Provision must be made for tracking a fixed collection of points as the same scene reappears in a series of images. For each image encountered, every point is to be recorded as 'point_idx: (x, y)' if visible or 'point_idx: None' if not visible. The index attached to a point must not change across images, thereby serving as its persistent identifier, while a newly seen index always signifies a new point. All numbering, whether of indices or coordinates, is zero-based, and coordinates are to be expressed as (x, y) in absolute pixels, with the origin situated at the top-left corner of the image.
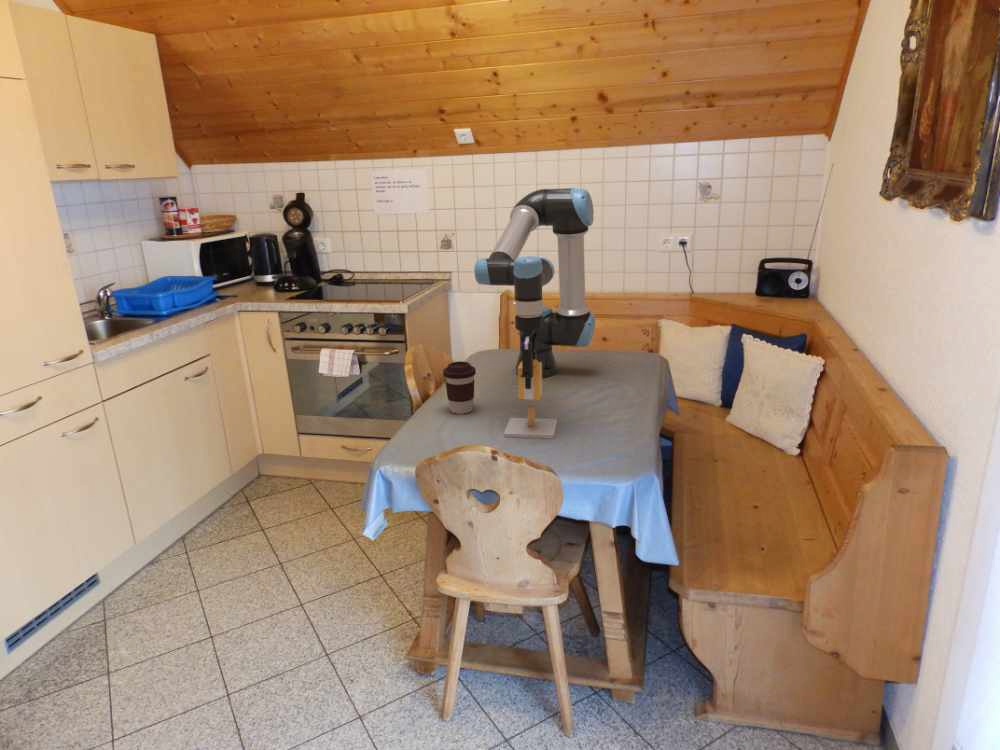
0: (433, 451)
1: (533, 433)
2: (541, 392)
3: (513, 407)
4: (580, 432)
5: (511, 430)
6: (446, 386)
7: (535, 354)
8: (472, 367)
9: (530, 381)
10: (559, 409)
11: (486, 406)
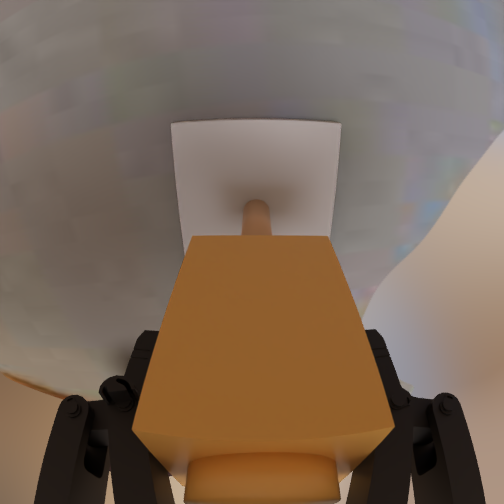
0: None
1: (325, 196)
2: (234, 242)
3: (90, 279)
4: (268, 26)
5: None
6: None
7: (75, 482)
8: None
9: (390, 370)
10: (60, 141)
11: (111, 336)
